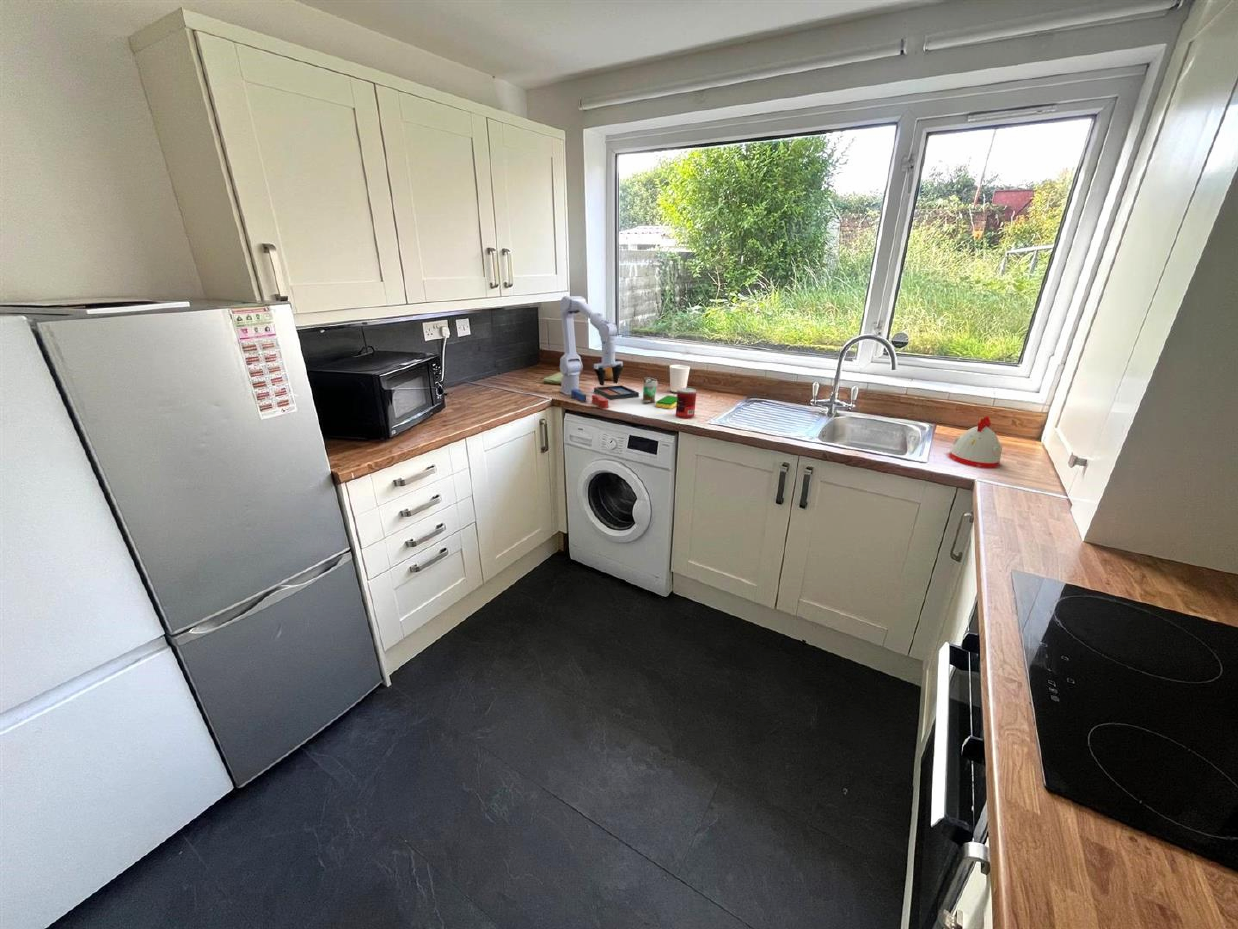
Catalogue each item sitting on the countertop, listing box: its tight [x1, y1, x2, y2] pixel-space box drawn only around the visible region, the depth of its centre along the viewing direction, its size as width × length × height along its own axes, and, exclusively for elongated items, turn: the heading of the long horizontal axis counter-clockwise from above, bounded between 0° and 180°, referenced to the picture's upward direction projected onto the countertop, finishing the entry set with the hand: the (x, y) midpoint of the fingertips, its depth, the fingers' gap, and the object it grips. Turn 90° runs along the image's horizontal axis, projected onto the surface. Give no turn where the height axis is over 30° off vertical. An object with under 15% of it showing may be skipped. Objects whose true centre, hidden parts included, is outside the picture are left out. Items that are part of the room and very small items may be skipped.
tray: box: [593, 384, 640, 401], centre depth 238 cm, size 15×17×2 cm
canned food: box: [675, 387, 697, 419], centre depth 205 cm, size 8×8×11 cm
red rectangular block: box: [591, 394, 609, 409], centre depth 218 cm, size 4×11×3 cm, turn 28°
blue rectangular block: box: [570, 388, 587, 403], centre depth 227 cm, size 4×11×3 cm, turn 28°
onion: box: [603, 367, 613, 381], centre depth 267 cm, size 10×10×10 cm
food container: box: [642, 376, 659, 405], centre depth 226 cm, size 12×6×10 cm, turn 179°
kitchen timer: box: [948, 416, 1003, 469], centre depth 164 cm, size 14×14×15 cm
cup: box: [669, 364, 691, 394], centre depth 245 cm, size 10×10×13 cm
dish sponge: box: [655, 395, 677, 410], centre depth 223 cm, size 7×14×2 cm, turn 154°
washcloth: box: [542, 371, 563, 386], centre depth 260 cm, size 13×18×3 cm
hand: (608, 384), depth 218 cm, fingers open, 7 cm apart
